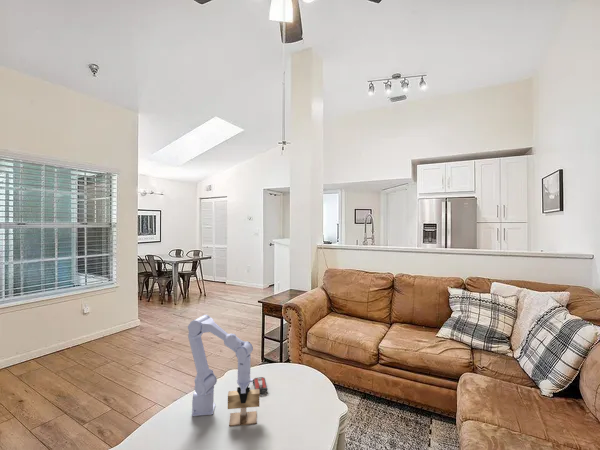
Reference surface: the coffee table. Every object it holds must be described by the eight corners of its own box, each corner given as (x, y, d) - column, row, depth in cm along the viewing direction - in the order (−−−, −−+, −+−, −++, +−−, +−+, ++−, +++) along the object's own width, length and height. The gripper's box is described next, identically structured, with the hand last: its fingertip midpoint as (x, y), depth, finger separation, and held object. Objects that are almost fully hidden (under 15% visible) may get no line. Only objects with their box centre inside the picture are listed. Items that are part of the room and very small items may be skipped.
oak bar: (227, 409, 130) (227, 395, 129) (228, 404, 133) (228, 391, 133) (259, 406, 132) (259, 393, 132) (259, 401, 135) (259, 389, 135)
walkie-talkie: (249, 382, 163) (251, 404, 143) (249, 375, 163) (251, 396, 143) (264, 381, 165) (269, 402, 145) (265, 373, 165) (269, 393, 145)
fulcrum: (228, 426, 128) (229, 419, 127) (230, 414, 135) (230, 407, 135) (256, 423, 129) (256, 417, 129) (256, 412, 137) (256, 405, 137)
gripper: (252, 378, 126) (252, 409, 126) (253, 362, 140) (252, 390, 140) (236, 379, 125) (235, 410, 125) (238, 363, 139) (237, 391, 139)
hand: (243, 400), depth 132 cm, fingers closed on oak bar, 3 cm apart
